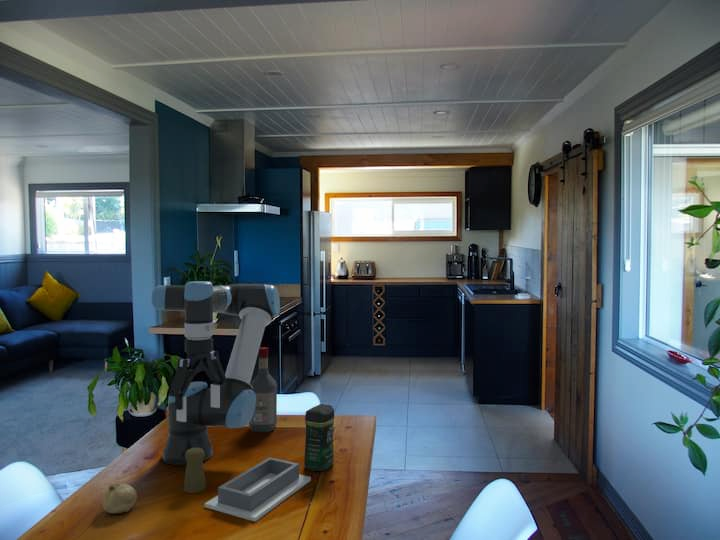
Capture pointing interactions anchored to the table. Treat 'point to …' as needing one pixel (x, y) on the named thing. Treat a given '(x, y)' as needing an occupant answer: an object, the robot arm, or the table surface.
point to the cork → (194, 471)
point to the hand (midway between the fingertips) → (199, 413)
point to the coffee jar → (319, 438)
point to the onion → (119, 498)
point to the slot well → (258, 489)
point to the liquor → (264, 397)
